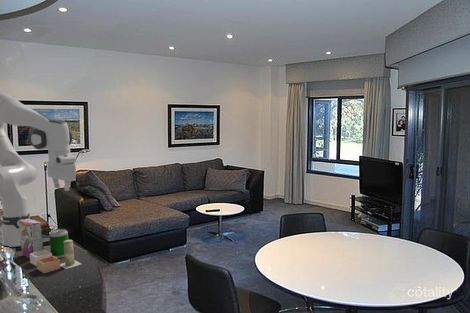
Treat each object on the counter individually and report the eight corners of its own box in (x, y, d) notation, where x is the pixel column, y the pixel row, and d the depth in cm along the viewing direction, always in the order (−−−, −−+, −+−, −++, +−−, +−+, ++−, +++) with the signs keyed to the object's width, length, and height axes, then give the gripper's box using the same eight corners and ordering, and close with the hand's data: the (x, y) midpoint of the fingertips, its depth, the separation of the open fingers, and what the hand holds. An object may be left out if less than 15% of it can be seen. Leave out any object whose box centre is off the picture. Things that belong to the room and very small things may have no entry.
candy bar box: (20, 255, 184) (17, 220, 182) (31, 252, 188) (29, 218, 186) (33, 261, 177) (30, 224, 175) (44, 257, 181) (41, 221, 179)
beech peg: (63, 264, 171) (61, 241, 170) (72, 261, 174) (70, 239, 172) (67, 266, 169) (65, 243, 167) (76, 263, 171) (74, 240, 170)
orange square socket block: (37, 270, 166) (36, 259, 166) (53, 265, 171) (52, 255, 171) (44, 274, 162) (43, 263, 161) (60, 269, 167) (59, 259, 166)
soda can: (62, 260, 178) (60, 233, 176) (47, 259, 179) (45, 232, 178) (72, 254, 185) (71, 228, 184) (58, 253, 186) (56, 227, 185)
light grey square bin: (30, 263, 174) (29, 253, 173) (46, 259, 179) (45, 249, 178) (36, 267, 170) (35, 257, 169) (52, 263, 174) (51, 253, 174)
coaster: (58, 266, 171) (58, 264, 171) (74, 261, 176) (74, 260, 176) (65, 270, 166) (65, 268, 166) (82, 265, 171) (82, 264, 171)
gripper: (42, 156, 180) (44, 187, 181) (63, 160, 166) (65, 193, 167) (56, 155, 184) (58, 185, 186) (77, 158, 170) (79, 190, 172)
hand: (61, 189), depth 176 cm, fingers open, 8 cm apart
